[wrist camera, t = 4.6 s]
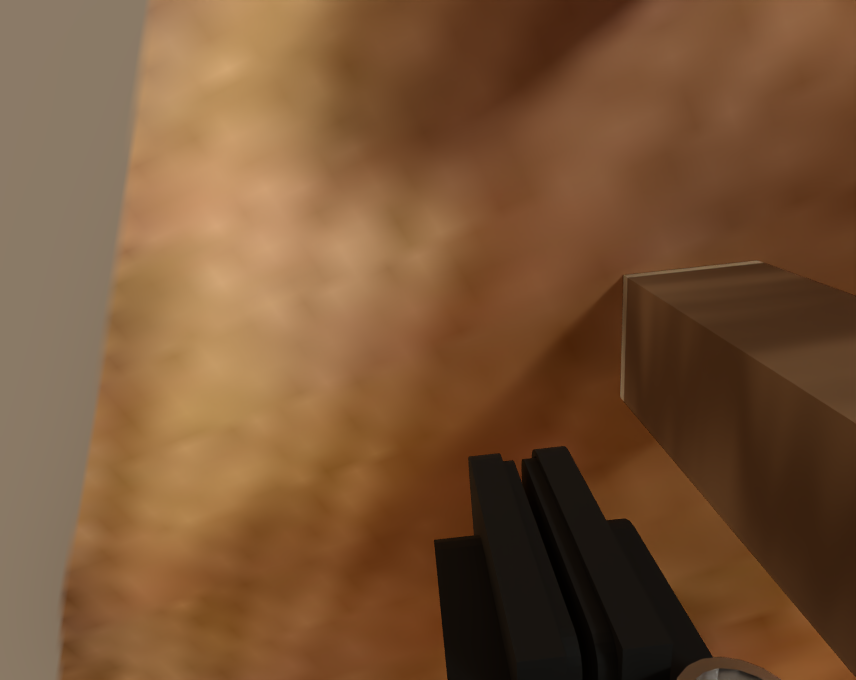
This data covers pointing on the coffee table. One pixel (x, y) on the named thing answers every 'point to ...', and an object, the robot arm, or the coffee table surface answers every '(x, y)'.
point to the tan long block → (758, 417)
